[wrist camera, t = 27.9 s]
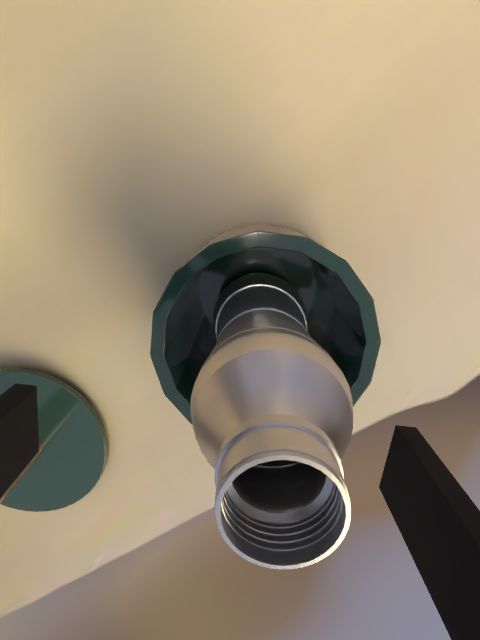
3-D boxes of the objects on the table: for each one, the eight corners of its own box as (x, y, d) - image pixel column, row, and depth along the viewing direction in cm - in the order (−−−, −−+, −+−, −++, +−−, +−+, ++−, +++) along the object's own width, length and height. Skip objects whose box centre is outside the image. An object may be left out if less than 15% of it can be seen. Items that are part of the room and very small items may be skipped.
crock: (185, 213, 28) (158, 217, 20) (356, 236, 29) (403, 249, 20) (172, 371, 32) (144, 433, 23) (324, 390, 32) (352, 458, 24)
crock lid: (-54, 355, 32) (-169, 413, 23) (112, 375, 32) (61, 440, 23) (-41, 493, 36) (-135, 587, 27) (107, 509, 36) (62, 609, 27)
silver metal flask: (283, 253, 28) (362, 358, 9) (314, 335, 30) (437, 573, 11) (201, 286, 29) (112, 449, 10) (236, 365, 31) (219, 635, 11)
